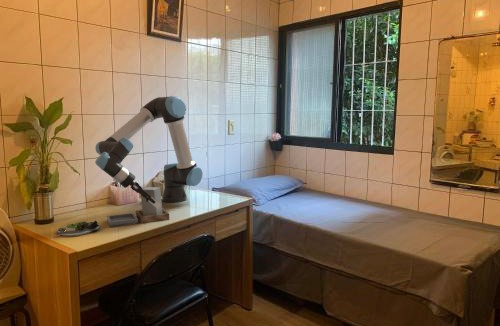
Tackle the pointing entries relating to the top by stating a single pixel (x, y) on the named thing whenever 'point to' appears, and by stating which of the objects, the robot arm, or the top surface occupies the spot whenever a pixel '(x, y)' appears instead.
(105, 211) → the top surface
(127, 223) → the tray
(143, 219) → the square wooden tray
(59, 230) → the salad plate
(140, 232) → the top surface
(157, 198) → the skincare box
